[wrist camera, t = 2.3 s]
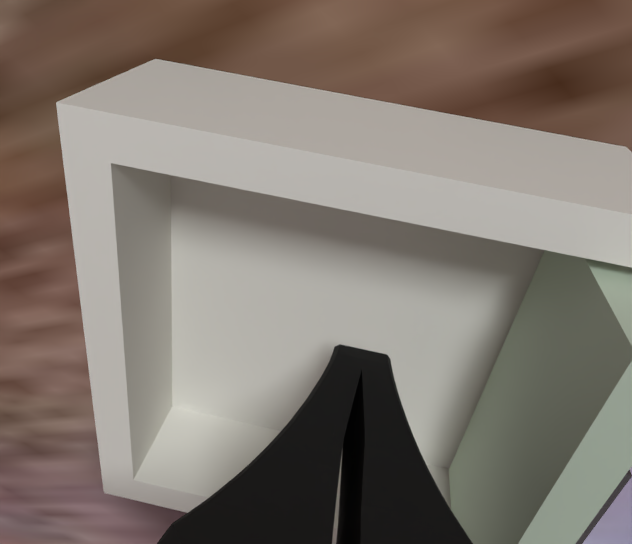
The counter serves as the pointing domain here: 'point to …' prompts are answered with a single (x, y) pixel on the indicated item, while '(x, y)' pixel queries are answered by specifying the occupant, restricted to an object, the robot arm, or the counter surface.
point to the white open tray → (302, 259)
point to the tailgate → (552, 412)
